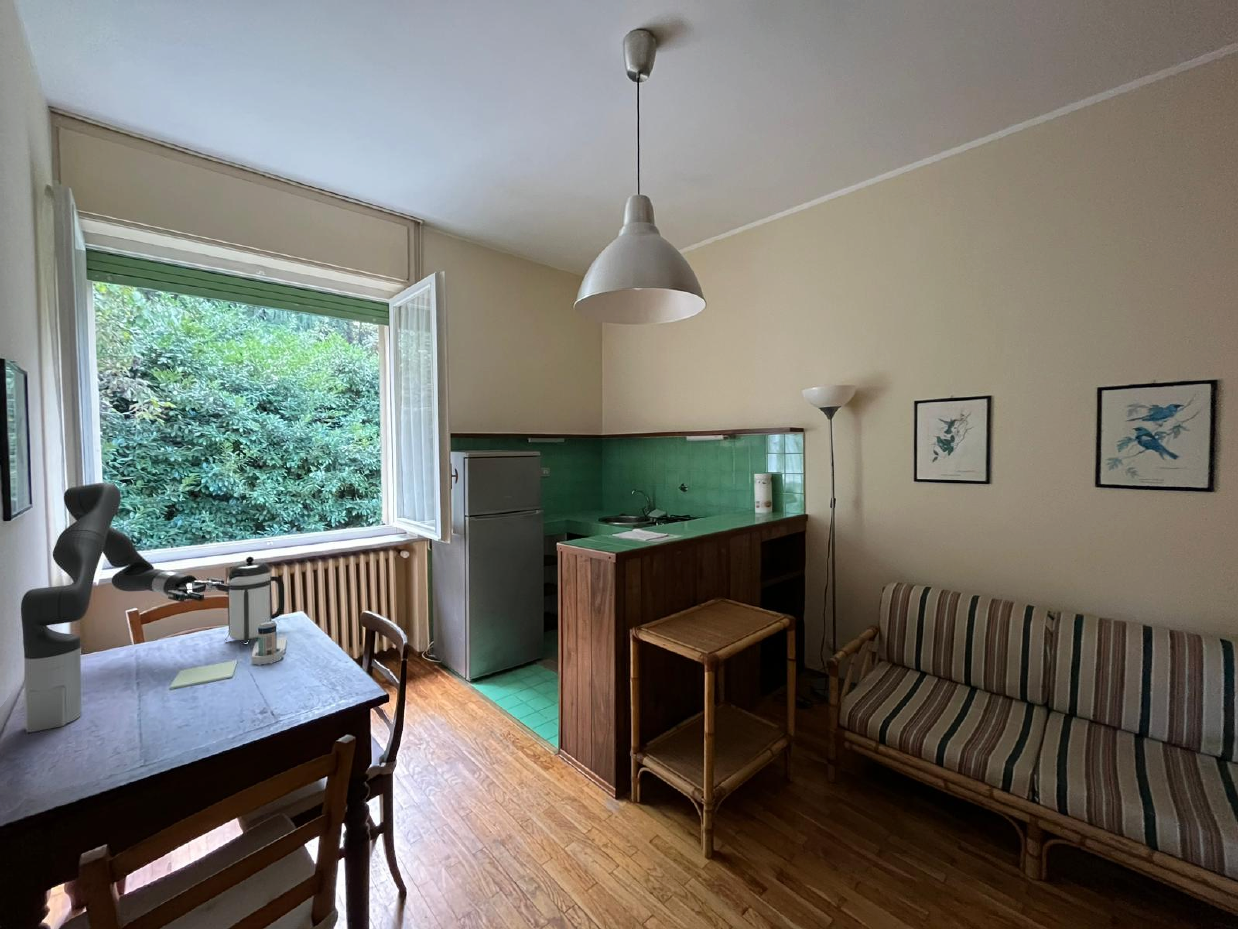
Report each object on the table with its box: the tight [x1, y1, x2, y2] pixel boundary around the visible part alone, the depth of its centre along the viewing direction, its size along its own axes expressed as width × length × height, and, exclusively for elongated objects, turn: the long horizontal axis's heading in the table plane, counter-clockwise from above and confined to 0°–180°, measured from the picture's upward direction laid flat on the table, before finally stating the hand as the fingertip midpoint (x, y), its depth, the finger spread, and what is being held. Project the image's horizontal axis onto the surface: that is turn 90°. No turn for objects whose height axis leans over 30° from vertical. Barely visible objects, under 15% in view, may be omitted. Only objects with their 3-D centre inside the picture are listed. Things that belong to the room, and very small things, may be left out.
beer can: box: [257, 620, 278, 656], centre depth 161 cm, size 5×5×12 cm
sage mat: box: [168, 660, 239, 690], centre depth 149 cm, size 14×14×1 cm
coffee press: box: [224, 556, 285, 644], centre depth 182 cm, size 17×16×30 cm
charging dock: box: [251, 636, 287, 665], centre depth 166 cm, size 22×9×2 cm, turn 32°
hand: (216, 593), depth 161 cm, fingers open, 8 cm apart
